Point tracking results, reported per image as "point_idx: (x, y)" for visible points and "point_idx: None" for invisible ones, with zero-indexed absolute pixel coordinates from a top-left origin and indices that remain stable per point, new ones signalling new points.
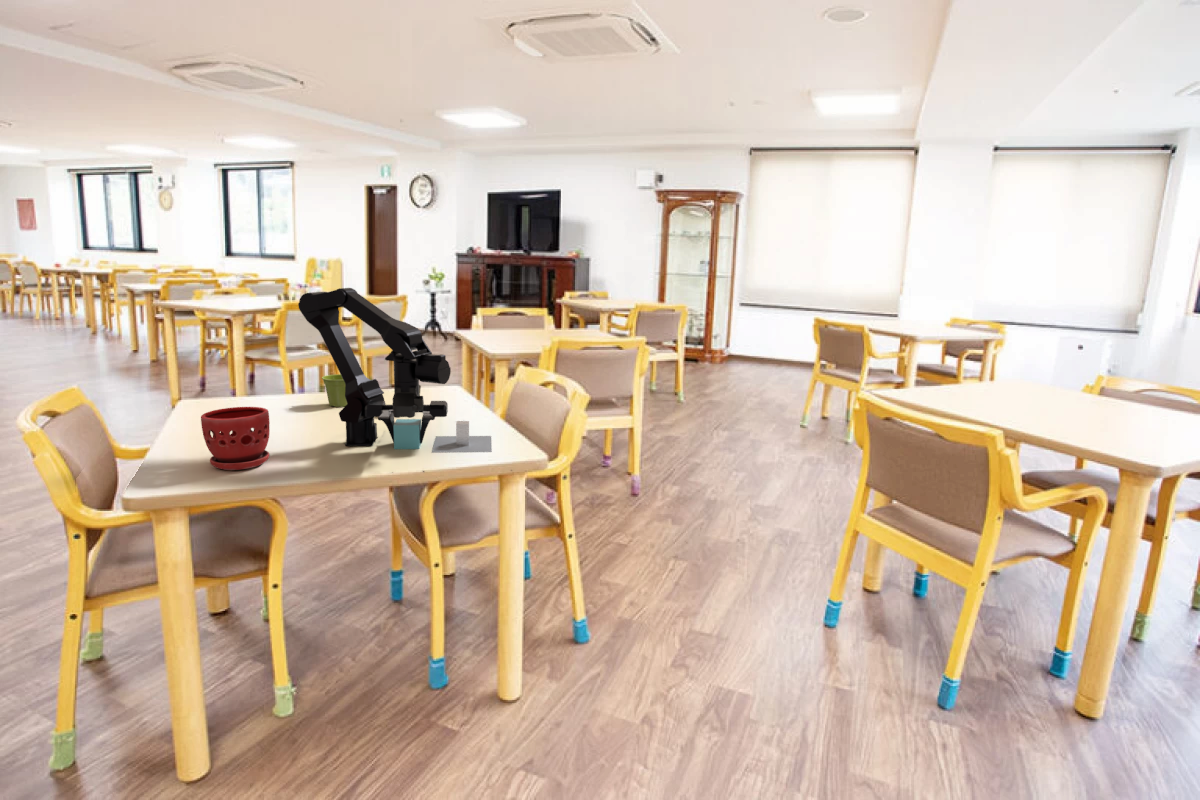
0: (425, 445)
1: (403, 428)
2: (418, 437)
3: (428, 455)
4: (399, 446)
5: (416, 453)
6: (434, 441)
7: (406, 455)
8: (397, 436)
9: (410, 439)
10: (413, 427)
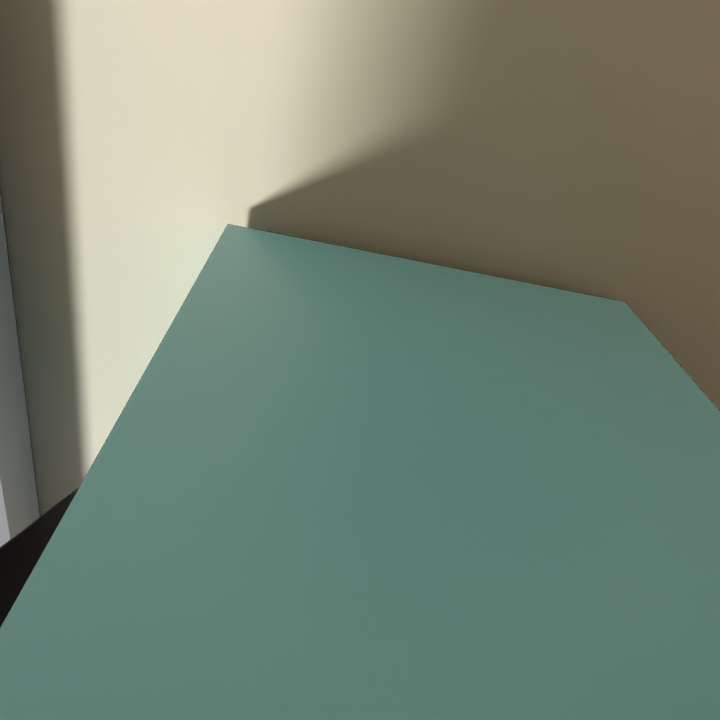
0: None
1: (660, 684)
2: (163, 372)
3: (49, 4)
4: (578, 331)
5: (280, 198)
6: (8, 539)
7: (464, 116)
8: (710, 478)
9: (378, 377)
10: (249, 686)
